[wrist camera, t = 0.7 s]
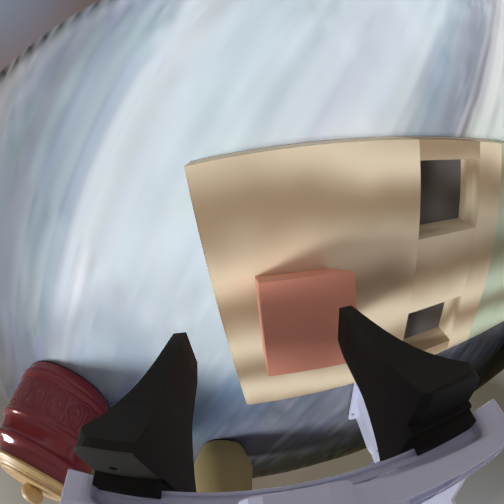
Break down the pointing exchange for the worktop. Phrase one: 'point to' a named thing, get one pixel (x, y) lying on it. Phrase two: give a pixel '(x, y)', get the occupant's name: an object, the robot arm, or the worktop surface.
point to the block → (303, 318)
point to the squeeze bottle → (222, 468)
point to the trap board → (356, 239)
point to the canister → (47, 429)
